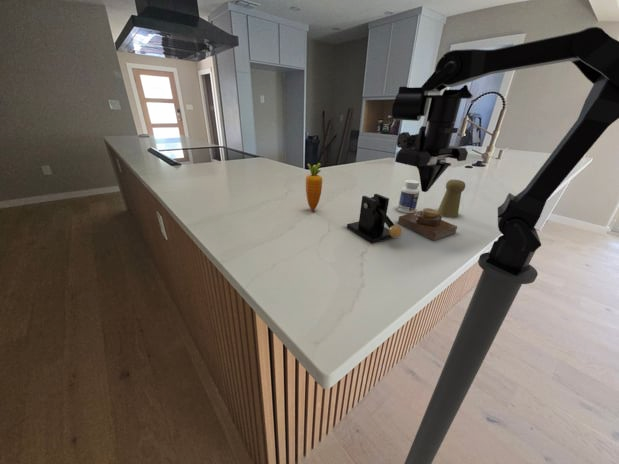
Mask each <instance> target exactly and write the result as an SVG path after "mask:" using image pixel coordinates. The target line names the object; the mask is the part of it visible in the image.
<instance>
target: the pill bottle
mask: <svg viewBox="0 0 619 464" xmlns="http://www.w3.org/2000/svg"><path fill="white" fill-rule="evenodd" d="M418 187H420V181H418V180H415V179H406V180H405V182H404V186H403V187H401V191H400V195H399V201H398V206H397V210H398V211H399V212H401V213H405V214H411V213H415V212H416V208H417V204H418V201H419V197H420V192H421V191H420V189H419V188H418Z"/></svg>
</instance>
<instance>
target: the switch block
mask: <svg viewBox="0 0 619 464" xmlns="http://www.w3.org/2000/svg"><path fill="white" fill-rule="evenodd" d="M422 211H423V210H418V211H415V212H413V213H406V214H402V215H399V216H398V220H397V224H399V225H400V226H402V227H405V228H407V229H409V230H411V231H413V232H415V233H417V234H419V235H421V236H424V237H425V238H428V239H429V240H432V241H437V240H441V239H443V238H446V237H449V236H452V235H455V234H456V231H457V229H458V225H456V224H453V223H450V222H448V221H445V220H443V218H442V217H443V216H441V215H439V214H438V213H437V214H436V218H427V217H424V216H422Z"/></svg>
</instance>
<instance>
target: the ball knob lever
mask: <svg viewBox="0 0 619 464" xmlns="http://www.w3.org/2000/svg"><path fill="white" fill-rule="evenodd" d="M370 198H372V199H374V200H376V201H377V206H376V211H377V213H378V214H379V215H380V217H381V218H382V219H383V221H384V222H385V225H386V226H387V227H388V229H389V234H390V235H391V236H392V237H393V239H395V238H399V237H401V236H402V234H403V229H402V227H401V225H398V224H394V222H393V221H392V220H391V218H390V217H389V215H388V214H386V213H385V212H384V211H383V210H382V208H381V206H382V205H383V204H382V202H381V201H380V200H379V198H378V197H377V196H376V197H374V196H371V197H370Z"/></svg>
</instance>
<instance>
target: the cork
mask: <svg viewBox="0 0 619 464" xmlns="http://www.w3.org/2000/svg"><path fill="white" fill-rule="evenodd" d="M445 189H446V191H445V193H444V195H443V197H442V200H441V202H440V204H439V207H438V209H437V210H436V211H437V214H439V215H440V216H442V217H444V218H451V219H453V218H458V216H459V211H460V204H461V197H462V192H463V191H465V189H466V183H465V181H463V180H460V179H449V180H447V182H446V183H445Z"/></svg>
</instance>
